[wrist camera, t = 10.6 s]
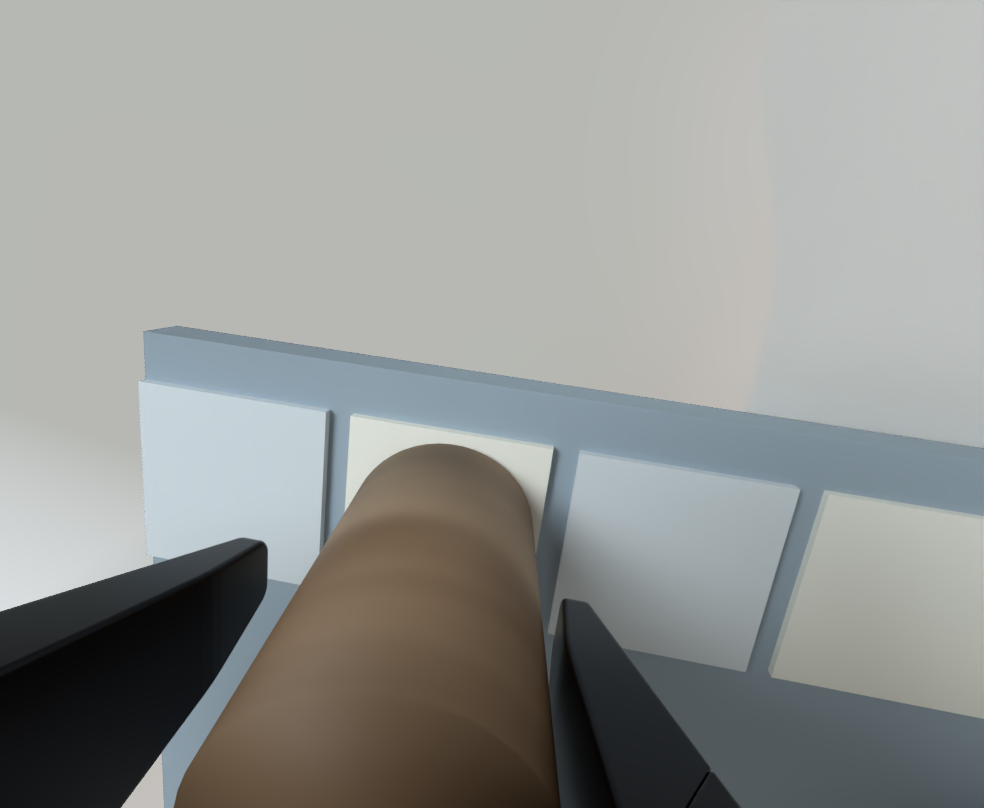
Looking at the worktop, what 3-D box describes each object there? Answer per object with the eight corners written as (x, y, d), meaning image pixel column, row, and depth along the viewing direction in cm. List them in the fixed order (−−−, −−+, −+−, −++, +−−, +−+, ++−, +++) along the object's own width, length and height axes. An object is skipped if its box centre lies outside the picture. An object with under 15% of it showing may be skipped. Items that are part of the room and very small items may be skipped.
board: (1084, 1049, 14) (1195, 1218, 11) (190, 830, 16) (124, 932, 13) (1426, 516, 10) (1709, 599, 7) (177, 325, 12) (79, 341, 10)
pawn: (518, 616, 11) (533, 1002, 6) (346, 595, 11) (178, 960, 5) (545, 456, 10) (596, 718, 5) (356, 432, 10) (164, 667, 4)
